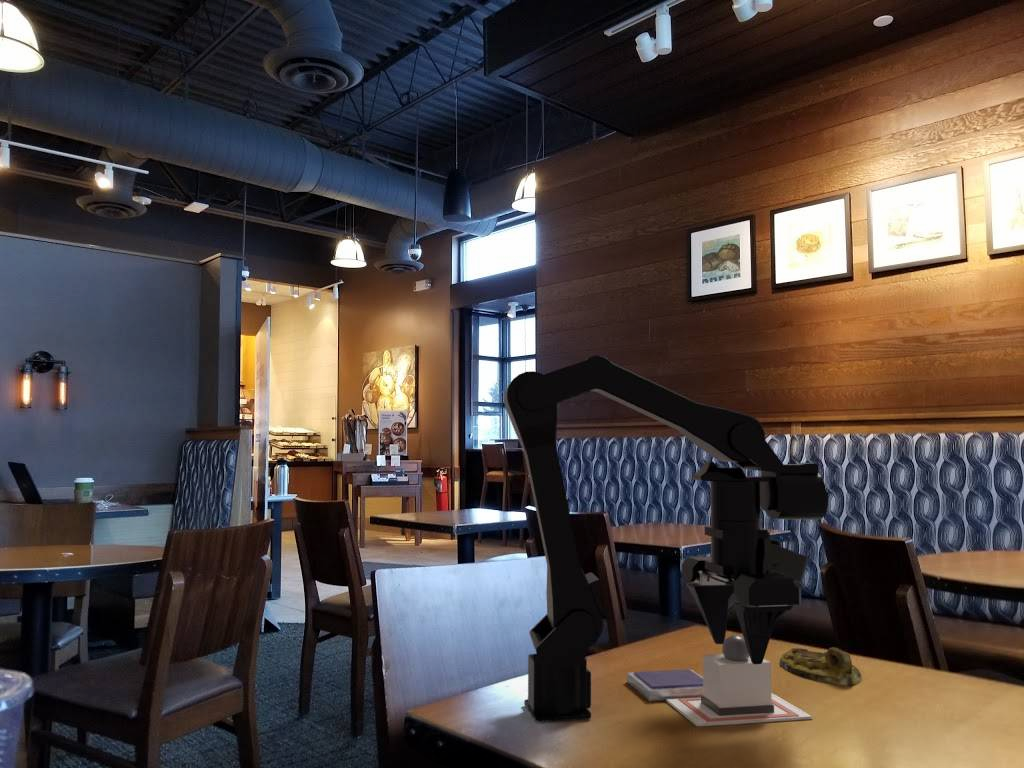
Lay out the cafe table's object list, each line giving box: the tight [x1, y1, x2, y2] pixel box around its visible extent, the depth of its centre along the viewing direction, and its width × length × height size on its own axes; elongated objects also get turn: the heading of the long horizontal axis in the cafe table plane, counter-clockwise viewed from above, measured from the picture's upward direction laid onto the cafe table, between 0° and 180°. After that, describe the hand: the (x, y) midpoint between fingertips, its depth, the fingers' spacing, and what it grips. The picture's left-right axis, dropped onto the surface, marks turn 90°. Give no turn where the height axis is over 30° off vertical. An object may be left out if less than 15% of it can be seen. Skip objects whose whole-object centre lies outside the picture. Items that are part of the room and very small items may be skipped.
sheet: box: [665, 692, 813, 727], centre depth 92 cm, size 14×9×1 cm, turn 102°
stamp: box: [701, 635, 774, 716], centre depth 93 cm, size 5×7×8 cm
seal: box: [779, 646, 863, 687], centre depth 110 cm, size 9×5×15 cm
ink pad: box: [626, 668, 703, 702], centre depth 100 cm, size 9×8×2 cm
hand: (737, 653), depth 93 cm, fingers open, 9 cm apart
